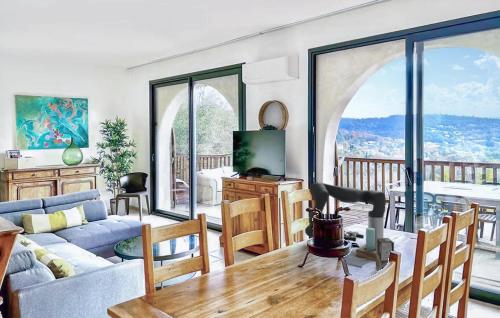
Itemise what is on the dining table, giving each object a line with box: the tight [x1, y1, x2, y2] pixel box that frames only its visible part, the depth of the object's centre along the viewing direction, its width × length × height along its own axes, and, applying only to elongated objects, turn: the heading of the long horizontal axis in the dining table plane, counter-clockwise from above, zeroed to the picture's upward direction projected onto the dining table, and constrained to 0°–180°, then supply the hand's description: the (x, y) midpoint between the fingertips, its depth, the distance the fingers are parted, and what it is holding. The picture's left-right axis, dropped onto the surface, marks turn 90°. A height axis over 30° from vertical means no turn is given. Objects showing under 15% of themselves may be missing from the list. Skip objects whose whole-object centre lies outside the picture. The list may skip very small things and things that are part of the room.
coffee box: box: [375, 237, 395, 272], centre depth 198 cm, size 9×6×16 cm
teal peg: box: [365, 227, 376, 252], centre depth 223 cm, size 5×5×15 cm
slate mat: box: [346, 256, 372, 268], centre depth 212 cm, size 11×11×1 cm
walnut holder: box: [350, 244, 376, 263], centre depth 223 cm, size 16×16×4 cm
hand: (359, 238), depth 227 cm, fingers open, 8 cm apart
